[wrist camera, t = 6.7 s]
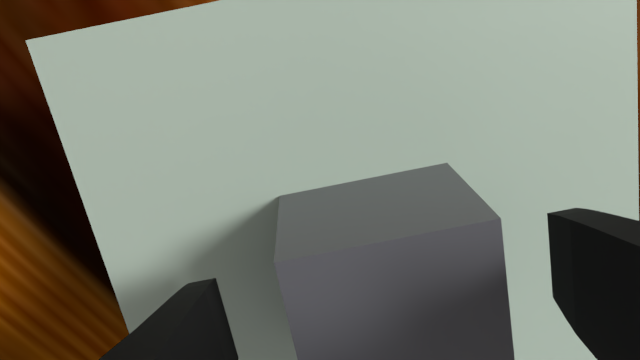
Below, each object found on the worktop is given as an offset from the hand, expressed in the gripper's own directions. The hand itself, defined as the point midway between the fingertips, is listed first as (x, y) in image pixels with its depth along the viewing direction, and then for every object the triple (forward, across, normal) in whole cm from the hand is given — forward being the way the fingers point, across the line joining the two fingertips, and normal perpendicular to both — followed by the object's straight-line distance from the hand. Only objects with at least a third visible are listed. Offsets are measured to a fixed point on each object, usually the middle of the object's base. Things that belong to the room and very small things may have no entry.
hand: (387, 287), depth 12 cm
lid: (+3, 0, 0) cm, 3 cm away
